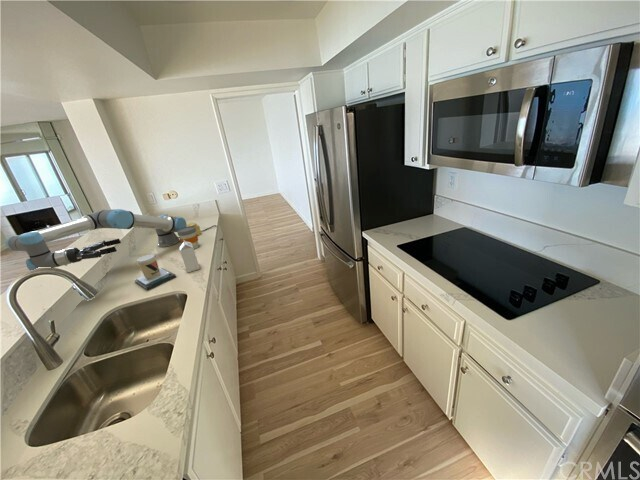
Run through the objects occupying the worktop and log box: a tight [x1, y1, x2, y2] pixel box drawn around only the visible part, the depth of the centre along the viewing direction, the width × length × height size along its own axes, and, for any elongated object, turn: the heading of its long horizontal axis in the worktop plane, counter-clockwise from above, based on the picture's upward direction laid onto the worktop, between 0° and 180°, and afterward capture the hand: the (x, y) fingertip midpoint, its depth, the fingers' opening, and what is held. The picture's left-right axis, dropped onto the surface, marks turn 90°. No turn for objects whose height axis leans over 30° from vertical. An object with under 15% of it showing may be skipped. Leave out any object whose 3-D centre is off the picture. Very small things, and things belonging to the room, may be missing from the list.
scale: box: [134, 267, 177, 292], centre depth 157 cm, size 16×18×3 cm
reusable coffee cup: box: [176, 226, 199, 250], centre depth 196 cm, size 13×13×15 cm
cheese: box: [186, 222, 203, 236], centre depth 221 cm, size 10×11×10 cm
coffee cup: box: [136, 253, 160, 279], centre depth 154 cm, size 9×9×12 cm
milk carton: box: [179, 241, 201, 273], centre depth 161 cm, size 7×7×19 cm
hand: (117, 244), depth 144 cm, fingers open, 13 cm apart
